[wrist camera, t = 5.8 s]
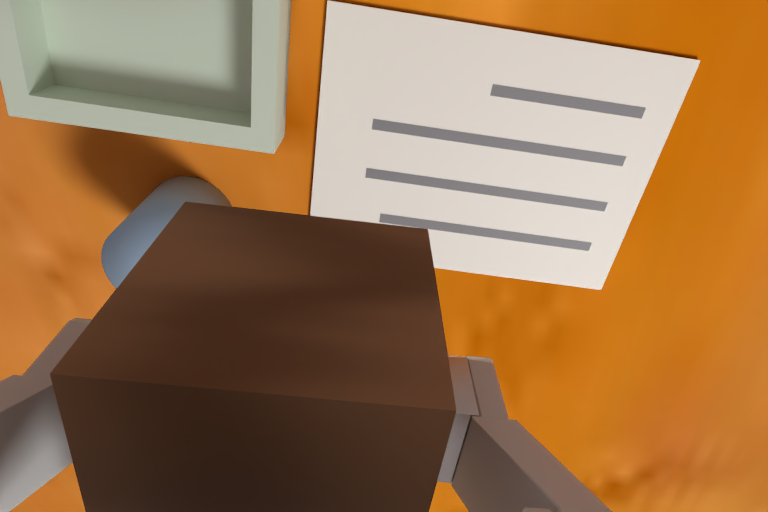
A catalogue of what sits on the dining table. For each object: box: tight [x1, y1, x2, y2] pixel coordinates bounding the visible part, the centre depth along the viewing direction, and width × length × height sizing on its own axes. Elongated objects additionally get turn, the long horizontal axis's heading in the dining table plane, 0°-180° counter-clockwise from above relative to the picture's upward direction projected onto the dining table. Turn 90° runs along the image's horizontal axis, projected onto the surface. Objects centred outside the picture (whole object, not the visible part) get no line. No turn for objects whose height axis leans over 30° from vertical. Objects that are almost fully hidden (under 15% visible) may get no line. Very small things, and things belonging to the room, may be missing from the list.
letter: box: [310, 0, 700, 290], centre depth 25 cm, size 16×12×1 cm
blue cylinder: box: [101, 176, 232, 289], centre depth 25 cm, size 4×4×5 cm
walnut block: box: [50, 202, 456, 512], centre depth 10 cm, size 5×5×5 cm
